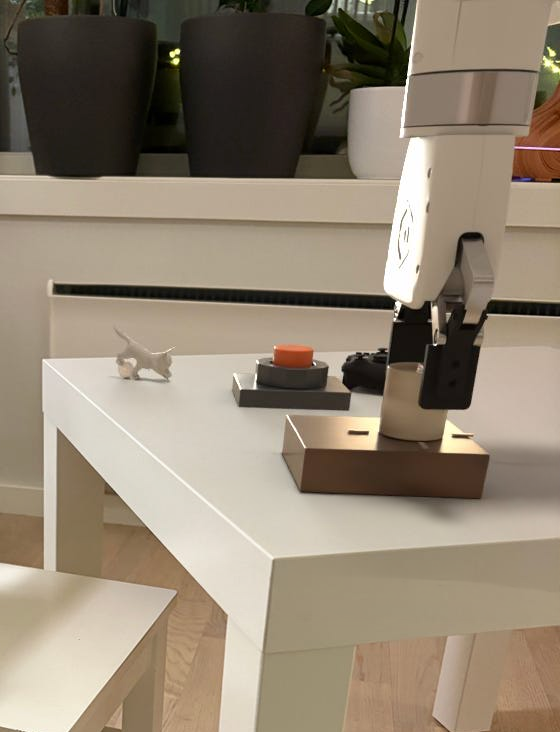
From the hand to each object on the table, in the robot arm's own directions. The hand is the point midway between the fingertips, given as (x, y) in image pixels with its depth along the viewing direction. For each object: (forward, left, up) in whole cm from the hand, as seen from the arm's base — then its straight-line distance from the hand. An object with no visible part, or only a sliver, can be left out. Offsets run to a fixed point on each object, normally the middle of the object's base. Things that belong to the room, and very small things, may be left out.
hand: (424, 392), depth 67 cm
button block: (+6, -25, -6) cm, 26 cm away
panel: (+3, 0, -6) cm, 6 cm away
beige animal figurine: (+20, -33, -6) cm, 39 cm away
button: (+6, -25, -3) cm, 26 cm away
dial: (+1, 0, -3) cm, 3 cm away
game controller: (-4, -33, -6) cm, 34 cm away
